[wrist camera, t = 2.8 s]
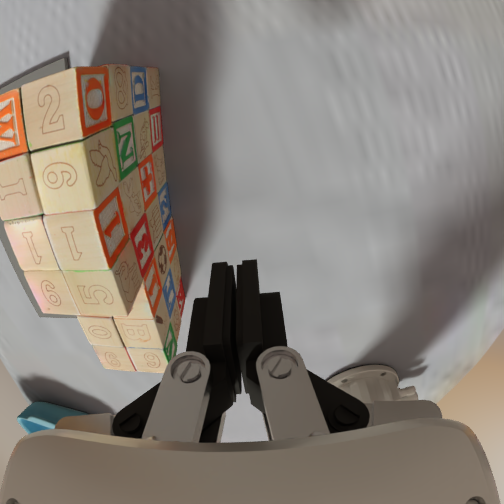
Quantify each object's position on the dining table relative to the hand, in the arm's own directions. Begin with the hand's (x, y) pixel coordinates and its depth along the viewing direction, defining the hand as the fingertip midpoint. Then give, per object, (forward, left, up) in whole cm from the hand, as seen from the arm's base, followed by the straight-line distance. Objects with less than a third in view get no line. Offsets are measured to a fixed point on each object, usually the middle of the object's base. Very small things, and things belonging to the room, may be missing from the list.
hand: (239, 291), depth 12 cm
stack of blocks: (+9, +1, -14) cm, 17 cm away
